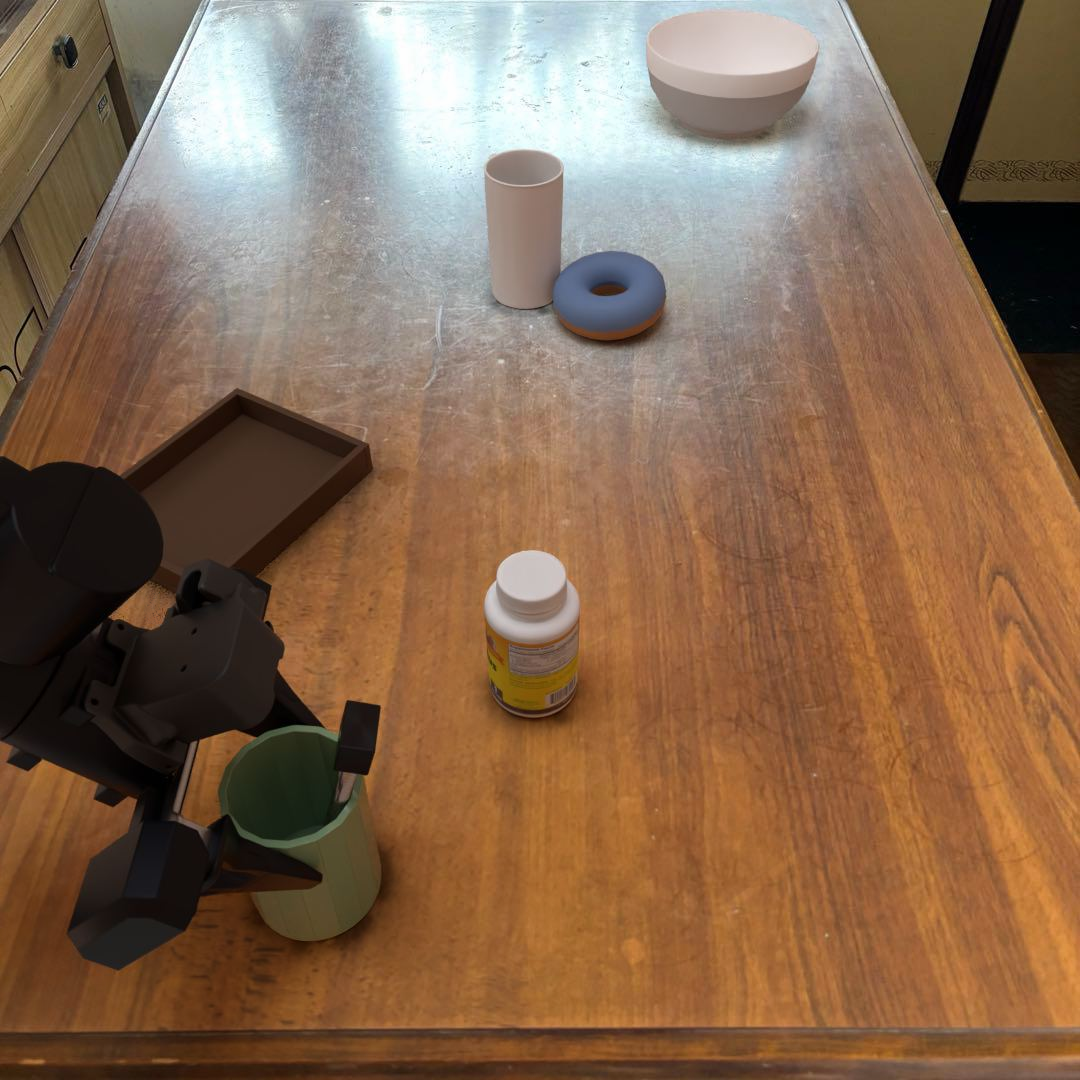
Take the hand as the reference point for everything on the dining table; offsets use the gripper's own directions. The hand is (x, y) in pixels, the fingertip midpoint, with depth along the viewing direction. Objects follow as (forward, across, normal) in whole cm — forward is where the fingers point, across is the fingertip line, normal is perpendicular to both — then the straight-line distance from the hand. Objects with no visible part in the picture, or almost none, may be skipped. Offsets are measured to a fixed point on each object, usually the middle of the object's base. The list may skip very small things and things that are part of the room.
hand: (327, 816), depth 55 cm
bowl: (+27, +95, -18) cm, 100 cm away
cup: (+4, 0, +6) cm, 7 cm away
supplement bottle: (+12, +13, -2) cm, 18 cm away
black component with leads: (+5, 0, +4) cm, 6 cm away
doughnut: (+17, +54, -7) cm, 57 cm away
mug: (+11, +60, -1) cm, 61 cm away
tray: (-4, +30, +13) cm, 33 cm away
